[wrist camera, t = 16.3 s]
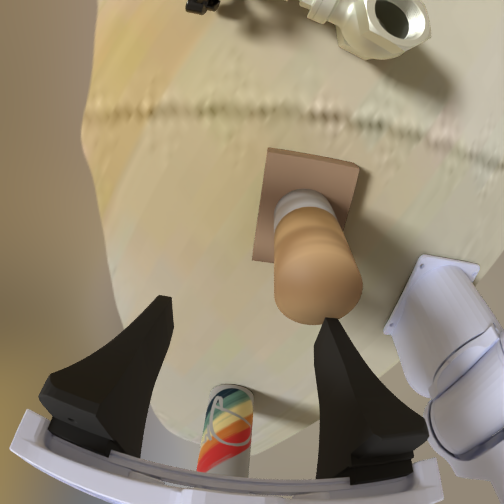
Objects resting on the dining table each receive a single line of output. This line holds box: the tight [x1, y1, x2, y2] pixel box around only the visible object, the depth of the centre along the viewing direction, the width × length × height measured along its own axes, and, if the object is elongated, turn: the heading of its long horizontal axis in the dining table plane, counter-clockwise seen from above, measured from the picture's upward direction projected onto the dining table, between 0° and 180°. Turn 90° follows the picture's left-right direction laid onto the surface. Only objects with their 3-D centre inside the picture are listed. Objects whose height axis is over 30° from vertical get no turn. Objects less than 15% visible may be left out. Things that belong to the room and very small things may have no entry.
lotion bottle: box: [194, 384, 254, 494], centre depth 26 cm, size 6×6×20 cm
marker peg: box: [274, 189, 363, 325], centre depth 16 cm, size 4×4×8 cm
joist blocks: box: [252, 148, 360, 263], centre depth 14 cm, size 33×6×2 cm, turn 173°
